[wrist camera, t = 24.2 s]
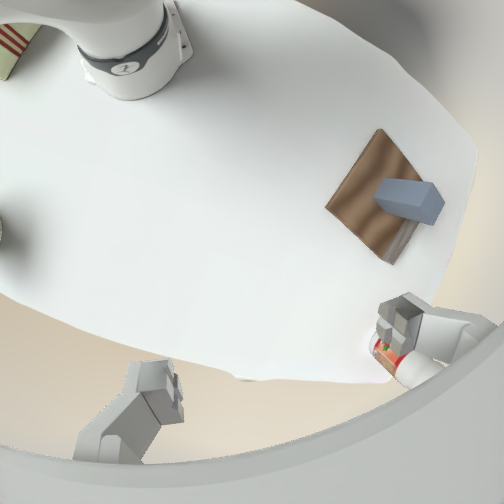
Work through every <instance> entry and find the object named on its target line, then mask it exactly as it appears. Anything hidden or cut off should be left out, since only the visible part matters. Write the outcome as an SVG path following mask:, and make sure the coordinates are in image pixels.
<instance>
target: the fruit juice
mask: <svg viewBox="0 0 504 504" xmlns="http://www.w3.org/2000/svg"><path fill="white" fill-rule="evenodd" d="M369 351H370V353H371V354H372V355H373V356H374V357H375V358H376V360H377V361H378V362H379V363H380V364H381V365H382V366H383V367H384V368H385V369H386V370H387V371H388V372H389V373H390V374H391V375H392V376H393V377H394V378H395V379H396V380H397V381H398V382H399V383H400V384H401V385H403V386H404V387H407V388H409V390H411V389H413V388H414V387H416V386H418V385H419V384H421V383H423V382H424V381H426V380H428V379H429V378H431V377H432V376H434V375H435V374H437V373H438V372H440V371H441V370H443V369H444V368H445V367H444V366H443V365H442V364H441V363H439V362H436V361H434V360H433V359H432V358H431V357H429V356H426V355H423V354H421V353H418V352H416V351H415V350H413V351H411V352H409V353H407V354H405V355H403V356H401V357H398V356H397V355H396V354H395V353H394V352H393V351H392V350H391V349H390V344H388V343H384V342H383V341H382V340H381V339H380V338H379V336H378V333H377V331H376V333H375V334H374V335H373V337H372V338H371V340H370V343H369Z"/></svg>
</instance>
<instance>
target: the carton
mask: <svg viewBox="0 0 504 504" xmlns="http://www.w3.org/2000/svg"><path fill="white" fill-rule="evenodd" d="M372 198H373V199H374V200H375V201H376V202H377V203H378V204H379V205H380V207H381V208H382V209H383V210H384V211H385V212H386V213H388V214H392V215H396V216H400V217H403V218H407V219H411V220H414V221H418V222H421V223H425V224H428V225H432V226H433V225H434V223H435V221H436V219H437V217H438V215H439V213H440V212H441V210H442V208H443V206H444V204H445V202H444V200H443V198H442V197H441V195H440V194H439V192H438V190H437V189H436V187H435V186H434V184H433V183H430V182H422V181H413V180H404V179H393V178H384V179H383V181H382V182H381V184H380V185H379V187H378V189H377V190H376V192H375V193H374V195H373V196H372Z"/></svg>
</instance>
